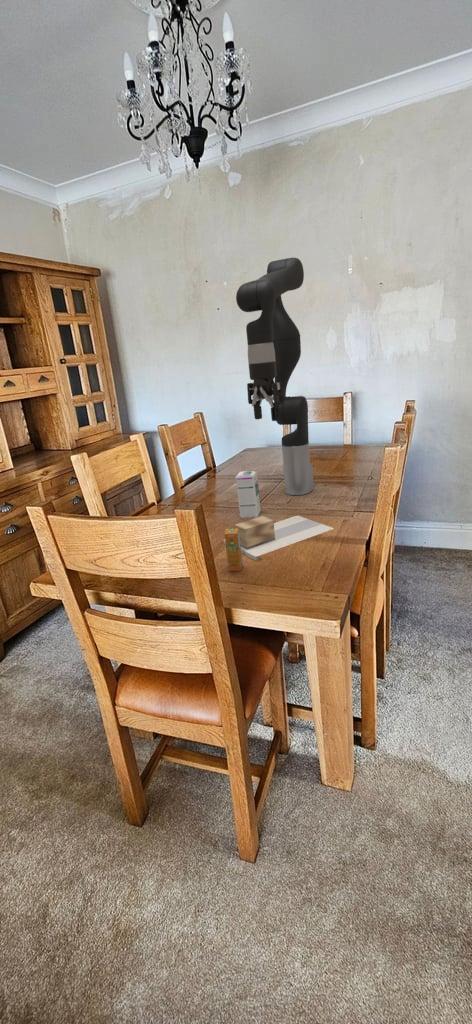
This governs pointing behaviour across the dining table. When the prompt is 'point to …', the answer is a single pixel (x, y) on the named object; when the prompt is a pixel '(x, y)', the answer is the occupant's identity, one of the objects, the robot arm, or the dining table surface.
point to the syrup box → (248, 494)
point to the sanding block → (256, 532)
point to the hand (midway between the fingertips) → (266, 419)
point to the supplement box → (233, 549)
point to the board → (287, 535)
